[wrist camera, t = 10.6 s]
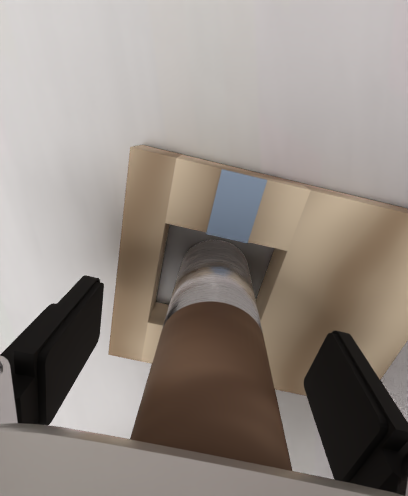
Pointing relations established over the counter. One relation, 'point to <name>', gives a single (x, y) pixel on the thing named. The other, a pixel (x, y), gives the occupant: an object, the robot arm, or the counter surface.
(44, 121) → the counter surface
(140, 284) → the board
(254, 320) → the two-tone cylinder
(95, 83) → the counter surface
